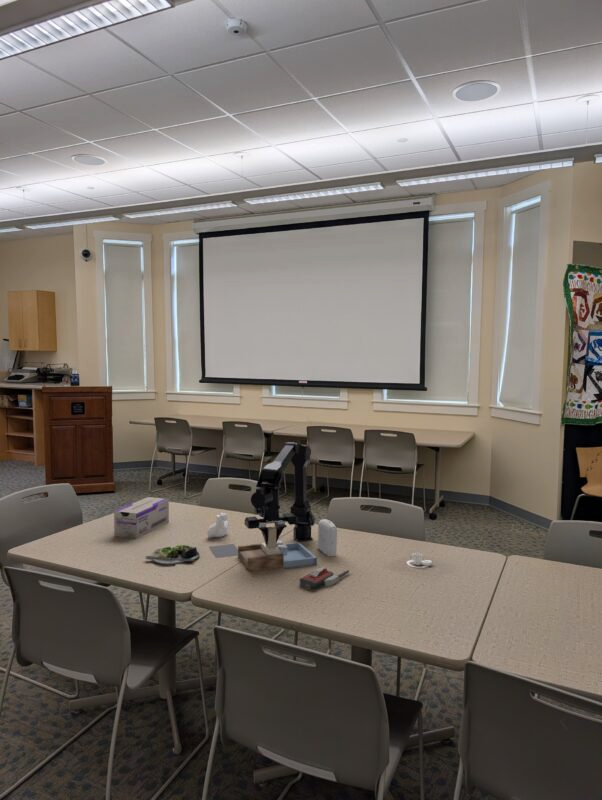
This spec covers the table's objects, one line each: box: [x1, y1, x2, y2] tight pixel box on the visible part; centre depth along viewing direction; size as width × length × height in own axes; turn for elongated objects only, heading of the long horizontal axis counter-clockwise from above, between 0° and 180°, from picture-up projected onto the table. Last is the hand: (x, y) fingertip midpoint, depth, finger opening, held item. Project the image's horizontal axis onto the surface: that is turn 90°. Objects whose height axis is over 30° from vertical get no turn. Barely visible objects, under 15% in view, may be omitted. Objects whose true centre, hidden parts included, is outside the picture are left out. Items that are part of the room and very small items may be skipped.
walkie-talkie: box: [299, 566, 350, 591], centre depth 184 cm, size 9×4×20 cm
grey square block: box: [277, 545, 288, 556], centre depth 201 cm, size 3×3×3 cm
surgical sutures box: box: [113, 496, 170, 539], centre depth 238 cm, size 25×11×11 cm, turn 163°
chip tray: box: [283, 541, 318, 569], centre depth 205 cm, size 12×18×3 cm, turn 21°
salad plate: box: [145, 544, 201, 566], centre depth 203 cm, size 19×18×5 cm
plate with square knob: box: [261, 526, 280, 555], centre depth 201 cm, size 4×10×9 cm, turn 21°
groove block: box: [237, 543, 284, 572], centre depth 200 cm, size 13×14×4 cm
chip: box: [276, 540, 284, 547], centre depth 205 cm, size 3×3×3 cm
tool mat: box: [208, 543, 238, 559], centre depth 211 cm, size 10×13×1 cm
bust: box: [206, 512, 230, 539], centre depth 229 cm, size 12×8×11 cm
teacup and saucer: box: [406, 552, 433, 569], centre depth 201 cm, size 9×8×4 cm
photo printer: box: [317, 518, 338, 557], centre depth 212 cm, size 10×4×12 cm, turn 23°
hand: (270, 543), depth 202 cm, fingers closed on plate with square knob, 3 cm apart
